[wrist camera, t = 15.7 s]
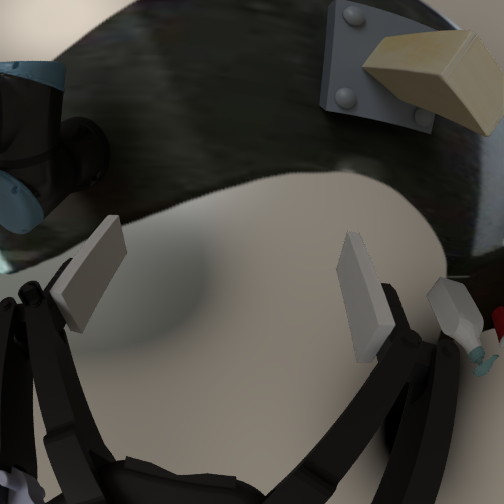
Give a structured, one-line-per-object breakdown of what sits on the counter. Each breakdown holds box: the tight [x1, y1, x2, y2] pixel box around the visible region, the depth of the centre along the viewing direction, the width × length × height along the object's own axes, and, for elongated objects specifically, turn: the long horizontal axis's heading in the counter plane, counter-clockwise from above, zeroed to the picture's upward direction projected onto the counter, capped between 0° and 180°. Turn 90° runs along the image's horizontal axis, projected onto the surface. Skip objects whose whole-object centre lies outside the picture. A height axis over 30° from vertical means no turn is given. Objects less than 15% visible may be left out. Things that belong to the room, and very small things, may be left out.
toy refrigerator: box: [362, 30, 504, 137], centre depth 23 cm, size 8×7×21 cm
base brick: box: [319, 0, 437, 134], centre depth 33 cm, size 18×18×7 cm
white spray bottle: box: [427, 277, 499, 377], centre depth 52 cm, size 11×8×27 cm
